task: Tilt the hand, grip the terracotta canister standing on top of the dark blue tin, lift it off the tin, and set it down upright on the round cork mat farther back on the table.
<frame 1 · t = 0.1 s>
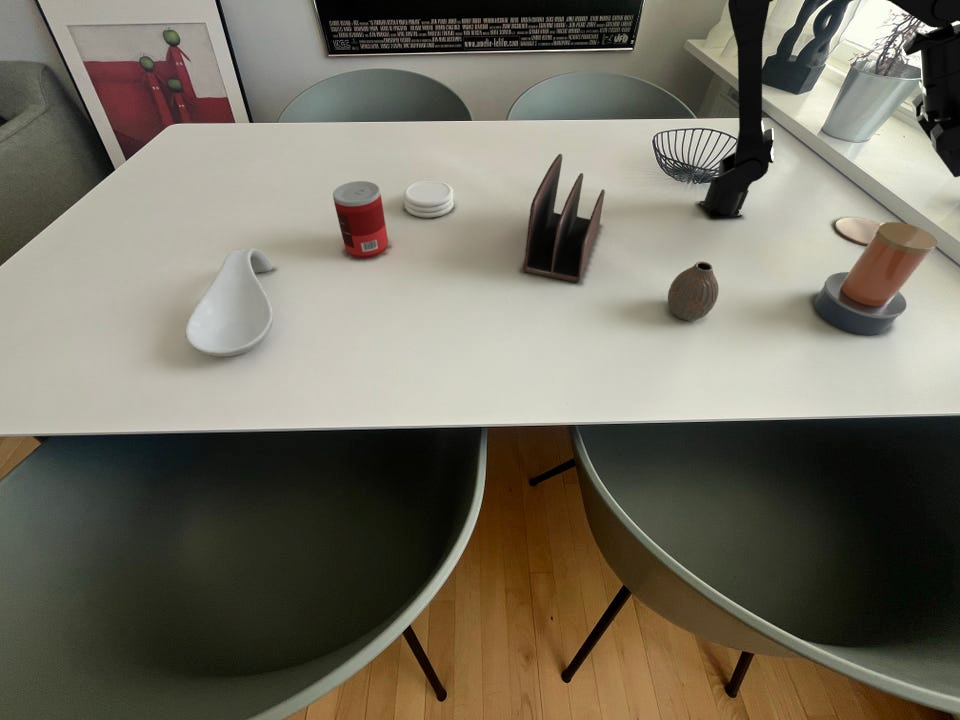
hand: (951, 164, 79), 15 cm above the table, tool tilted 35°, fingers open, 9 cm apart
canister: (865, 292, 73), point 4 cm above the table, touching tin
coaster: (429, 207, 99), on the table
spoon rest: (246, 315, 75), on the table
mat: (864, 232, 92), on the table
tin: (850, 312, 76), on the table, touching canister
canned food: (367, 248, 89), on the table
vase: (684, 313, 76), on the table
letter holder: (563, 248, 89), on the table
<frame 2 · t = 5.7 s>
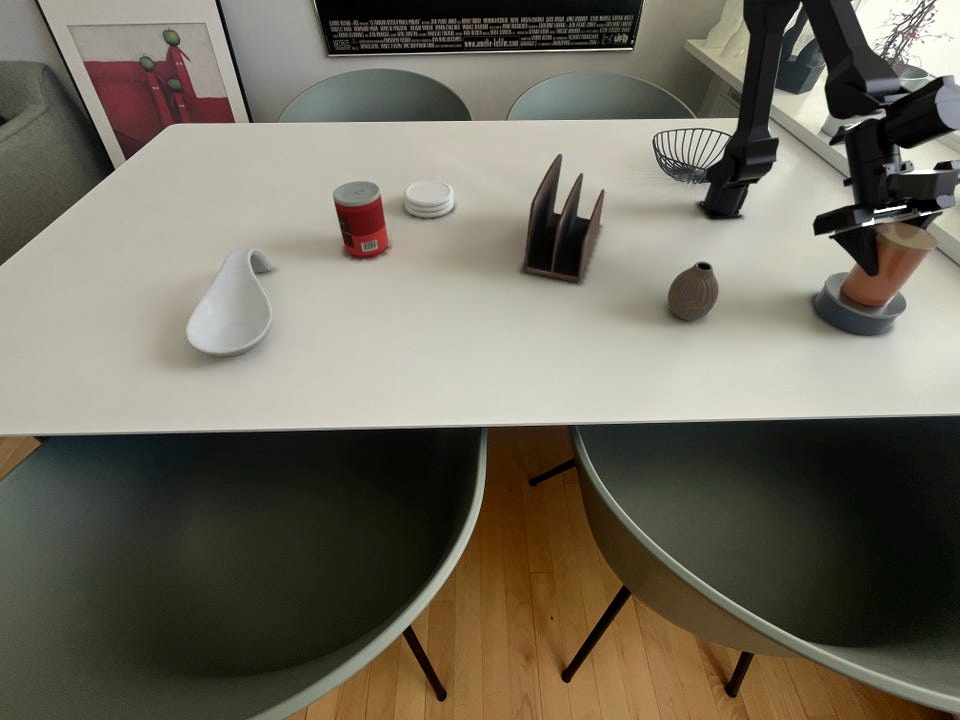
hand: (892, 271, 69), 9 cm above the table, tool tilted 45°, fingers closed on canister, 6 cm apart
canister: (865, 292, 73), point 4 cm above the table, touching gripper, tin
everything else where it was.
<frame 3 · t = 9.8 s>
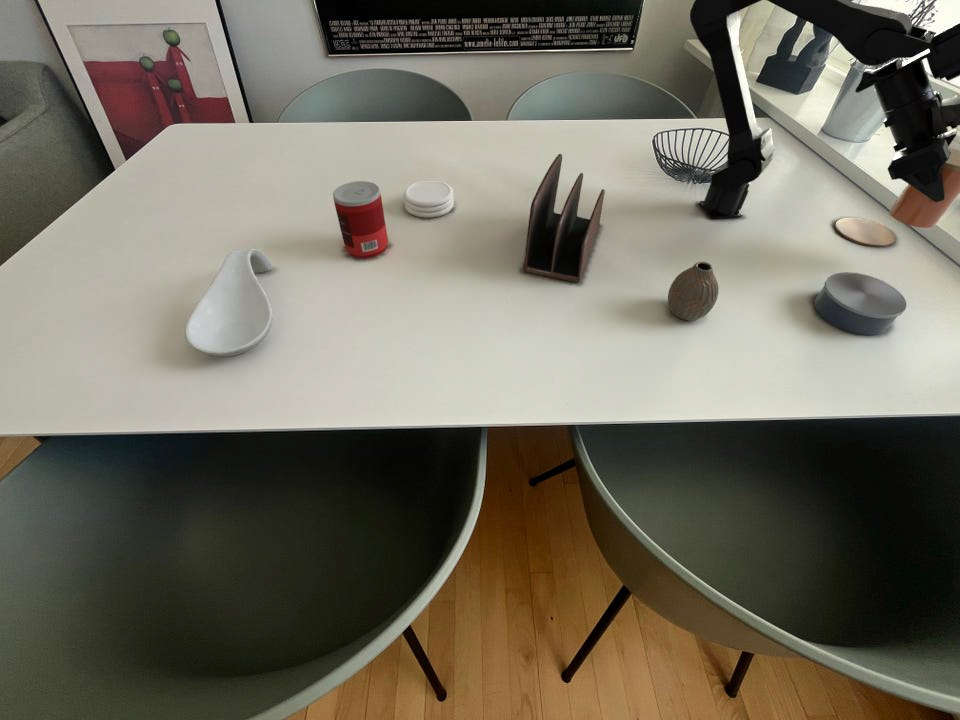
hand: (942, 192, 75), 14 cm above the table, tool tilted 45°, fingers closed on canister, 6 cm apart
canister: (912, 217, 79), point 9 cm above the table, touching gripper
tin: (850, 312, 76), on the table
everything else where it was.
when the fingers open (5 cm above the table, at t = 14.3 s): canister stays where it is, resting on mat.
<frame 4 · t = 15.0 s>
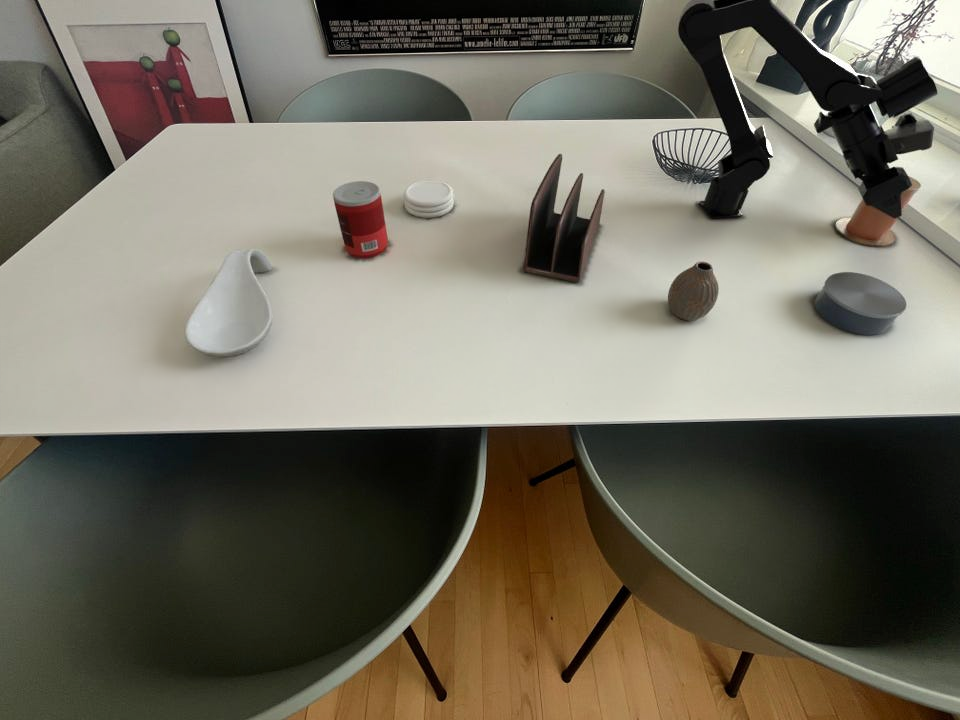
hand: (891, 204, 88), 6 cm above the table, tool tilted 45°, fingers open, 9 cm apart
canister: (865, 230, 92), resting on mat
everything else where it was.
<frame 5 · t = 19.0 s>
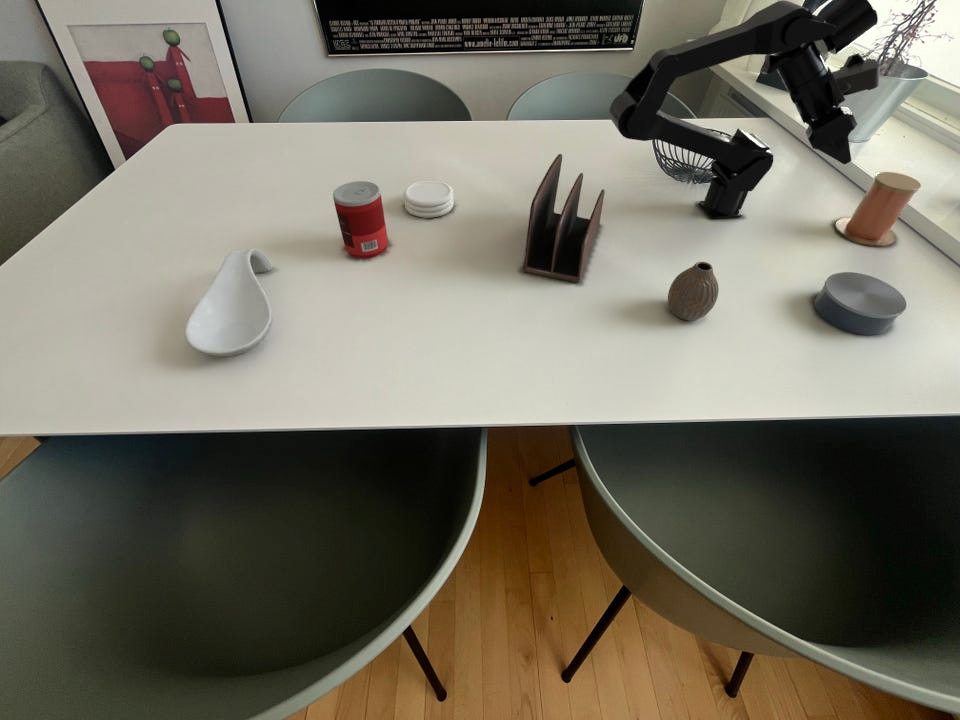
hand: (842, 151, 86), 14 cm above the table, tool tilted 45°, fingers open, 9 cm apart
nothing on the table moved.
at the end: canister 0.0 cm off-centre on the mat, point 0.4 cm above the mat's base; canister tilted 0°; canister touching mat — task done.
